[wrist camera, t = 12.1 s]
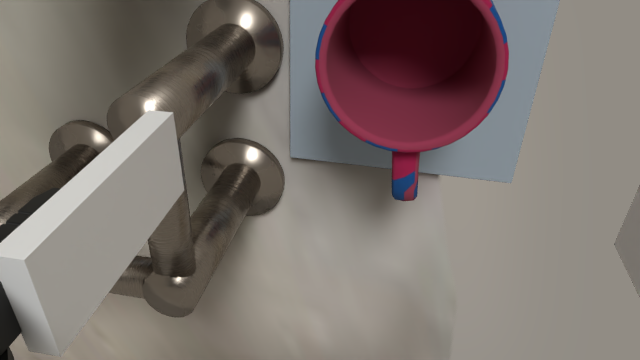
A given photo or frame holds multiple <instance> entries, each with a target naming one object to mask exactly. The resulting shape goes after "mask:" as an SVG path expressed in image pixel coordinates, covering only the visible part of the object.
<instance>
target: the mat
mask: <svg viewBox="0 0 640 360" xmlns="http://www.w3.org/2000/svg"><path fill="white" fill-rule="evenodd" d="M337 1H338V0H290V157H294V158H303V159H311V160H320V161H328V162H337V163H345V164H353V165H362V166H370V167H379V168H387V169H392V151H389V150H385V149H381V148H378V147H375V146H372V145H370V144H368V143H366V142H364V141H362V140H360V139H359V138H357V137H356V136H354V135H353V134H351V133H349V132H348V131H347V130H346V129H345V128H344V127H343V126H342V125H341V124H340V123H339V122H338V121H337V120H336V119H335V117H334V116H333V115H332V113H331V112H330V111H329V109H328V107H327V105H326V104H325V102H324V100H323V98H322V95H321V92H320V89H319V86H318V83H317V77H316V71H315V52H316V47H317V42H318V37H319V34H320V31H321V29H322V26H323V24H324V21H325V19H326V18H327V16H328V15H329V13H330V11H331V10H332V8H333V7H334V5H335V4H336V2H337ZM492 1H493V3H494V5H495V8H496V10H497V12H498V14H499V16H500V18H501V21H502V24H503V27H504V29H505V32H506V35H507V42H508V49H509V64H508V72H507V77H506V81H505V85H504V88H503V90H502V92H501V95H500V97H499V99H498V101H497V103H496V104H495V106H494V107H493V109H492V110H491V112H490V113H489V115H488V116H487V117H486V118H485V119H484V120H483V121H482V122H481V123H480V124H479V125H478V126H477V127H476V128H475V129H474V130H472V131H471V132H470V133H468V134H467V135H466V136H464V137H462V138H461V139H459V140H457V141H455V142H453V143H451V144H449V145H446V146H443V147H441V148H438V149H434V150H429V151H424V152H420V159H419V171H418V172H421V173H430V174H438V175H447V176H456V177H464V178H472V179H480V180H489V181H498V182H506V183H511V182H512V179H513V175H514V171H515V167H516V163H517V159H518V156H519V152H520V148H521V145H522V141H523V137H524V133H525V129H526V125H527V122H528V118H529V114H530V110H531V106H532V103H533V99H534V96H535V92H536V88H537V84H538V81H539V77H540V72H541V69H542V65H543V61H544V58H545V54H546V50H547V46H548V43H549V39H550V35H551V32H552V27H553V24H554V20H555V16H556V13H557V9H558V5H559V1H560V0H492Z"/></svg>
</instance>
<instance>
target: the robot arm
mask: <svg viewBox="0 0 640 360" xmlns="http://www.w3.org/2000/svg"><path fill="white" fill-rule="evenodd" d="M183 191H184V184H183V177H182V170H181V163H180V156H179V149H178V142H177V135H176V128H175V121H174V115H173V112H164V111H154V110H148V111H147V112H146V113H145V114H144V115H143V116H142V117H140V118H139V119H138V120H137V121H136V122H135V123H134V124H133V125H132V126H130V127H129V128H128V129H127V130H126V131H125V132H124V133H123V134H121V135H120V136H119V137H118V138H117V139H116V140H115V141H114V142H113V143H111V144H110V145H109V146H108V147H107V148H106V149H105V150H104V151H102V152H101V153H100V154H99V155H98V156H97V157H96V158H95V159H94V160H92V161H91V162H90V163H89V164H88V165H87V166H86V167H85V168H83V169H82V170H81V171H80V172H79V173H78V174H77V175H76V176H75V177H73V178H72V179H71V180H70V181H69V182H68V183H67V184H66V185H64V186H63V187H62V188H52V189H50V190H48V191H46V192H44V193H42V194H40V195H38V196H36V197H34V198H32V199H31V200H30V201H29V202H28V203H27V204H25V205H24V206H23V207H22V208H21V209H20V210H18V213H15V214H14V215H12V216H11V217H10V218H9V219H8V220H7V221H6V224H2V225H1V226H0V360H14V357H13V354H12V352H11V350H10V348H9V346H10V345H11V344H12V342H13V341H14V340H15V339H16V338H17V337H18V335H19V334H20V333H21V334H22V336H23V338H24V341H25V343H26V345H27V348H28V350H29V351H32V352H37V353H43V354H48V355H54V356H59V357H61V356H62V355H63V353H64V352H65V351H66V349H67V348H68V347H69V345H70V344H71V343H72V341H73V340H74V339H75V337H76V336H77V335H78V333H79V332H80V331H81V329H82V328H83V326H84V325H85V324H86V322H87V321H88V320H89V318H90V317H91V316H92V314H93V313H94V312H95V310H96V309H97V308H98V306H99V305H100V303H101V302H102V301H103V299H104V298H105V297H106V295H107V294H108V293H109V291H110V290H111V289H112V287H113V286H114V285H115V283H116V282H117V280H118V279H119V278H120V276H121V275H122V274H123V272H124V271H125V270H126V268H127V267H128V266H129V264H130V263H131V262H132V260H133V259H134V257H135V256H136V255H137V253H138V252H139V251H140V249H141V248H142V247H143V245H144V244H145V243H146V241H147V240H148V239H149V237H150V236H151V235H152V233H153V232H154V230H155V229H156V228H157V226H158V225H159V224H160V222H161V221H162V220H163V218H164V217H165V216H166V214H167V213H168V212H169V210H170V209H171V207H172V206H173V205H174V203H175V202H176V201H177V199H178V198H179V197H180V195H181V194H182V193H183ZM614 245H615V247H616V249H617V251H618V253H619V256H620V258H621V260H622V262H623V264H624V266H625V268H626V270H627V272H628V274H629V276H630V278H631V280H632V283H633V285H634V287H635V289H636V291H637V293H638V295H639V297H640V186H639V188H638V190H637V193H636V195H635V197H634V199H633V202H632V204H631V206H630V209H629V211H628V213H627V216H626V218H625V220H624V223H623V225H622V227H621V229H620V232H619V234H618V236H617V238H616V241H615V243H614Z"/></svg>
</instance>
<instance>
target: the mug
mask: <svg viewBox="0 0 640 360" xmlns="http://www.w3.org/2000/svg"><path fill="white" fill-rule="evenodd" d="M508 64H509V49H508V42H507V35H506V32H505V29H504V27H503V24H502V21H501V18H500V16H499V14H498V12H497V10H496V8H495V5H494V3H493V1H492V0H338V1H337V2H336V4H335V5H334V7H333V8H332V10H331V11H330V13H329V15H328V16H327V18H326V19H325V21H324V24H323V26H322V29H321V31H320V34H319V37H318V42H317V47H316V52H315V71H316V77H317V83H318V86H319V89H320V92H321V95H322V98H323V100H324V102H325V104H326V105H327V107H328V109H329V111H330V112H331V113H332V115H333V116H334V117H335V119H336V120H337V121H338V122H339V123H340V124H341V125H342V126H343V127H344V128H345V129H346V130H347V131H348V132H349V133H351V134H353V135H354V136H356V137H357V138H359V139H360V140H362V141H364V142H366V143H368V144H370V145H372V146H375V147H378V148H381V149H385V150H389V151H392V195H393V197H394V199H396V200H401V201H412V200H414V199H415V198H416V197H417V187H418V171H419V159H420V152H424V151H429V150H434V149H438V148H441V147H443V146H446V145H449V144H451V143H453V142H455V141H457V140H459V139H461V138H462V137H464V136H466V135H467V134H468V133H470V132H471V131H472V130H474V129H475V128H476V127H477V126H478V125H479V124H480V123H481V122H482V121H483V120H484V119H485V118H486V117H487V116H488V115H489V113H490V112H491V110H492V109H493V107H494V106H495V104H496V103H497V101H498V99H499V97H500V95H501V92H502V90H503V88H504V85H505V81H506V77H507V72H508Z"/></svg>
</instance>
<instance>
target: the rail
mask: <svg viewBox="0 0 640 360" xmlns="http://www.w3.org/2000/svg"><path fill="white" fill-rule="evenodd" d="M186 40H187V48H188V49H187V50H185V51H184V52H183V53H181V54H180V55H178V56H177V57H176V58H174V59H173V60H171V61H170V62H169V63H167V64H166V65H164V66H163V67H162V68H160V69H159V70H157V71H156V72H155V73H153V74H152V75H150V76H149V77H148V78H146V79H145V80H143V81H142V82H141V83H139V84H138V85H136V86H135V87H134V88H132V89H131V90H129V91H128V92H127V93H125V94H124V95H122V96H121V97H120V98H118V99H117V100H115V101H114V102H113V103H112V104H111V106H110V108H109V110H108V113H107V125H108V128H109V131H110V132H109V131H108V130H106V129H105V128H103V127H102V126H100V125H98V124H95V123H93V122H89V121H84V120H76V121H71V122H68V123H66V124H64V125H63V126H62V127H60V128H59V129H57V130H56V131H55V132H54V133H53V135H52V136H51V139H50V142H49V153H50V157H51V160H52V162H51V163H50V164H49V165H47V166H46V167H45V168H43V169H42V170H41V171H39V172H38V173H37V174H35V175H34V176H33V177H31V178H30V179H29V180H27V181H26V182H25V183H23V184H22V185H21V186H19V187H18V188H17V189H16V190H14V191H13V192H12V193H10V194H9V195H8V196H6V197H5V198H4V199H2V200H1V201H0V226H1V225H2V224H6V221H7V220H8V219H9V218H10V217H11V216H12V215H14V214H15V213H18V210H20V209H21V208H22V207H23V206H24V205H25V204H27V203H28V202H29V201H30V200H31V199H32V198H34V197H36V196H38V195H40V194H42V193H44V192H46V191H48V190H50V189H52V188H62V187H63V186H64V185H66V184H67V183H68V182H69V181H70V180H71V179H72V178H73V177H75V176H76V175H77V174H78V173H79V172H80V171H81V170H82V169H83V168H85V167H86V166H87V165H88V164H89V163H90V162H91V161H92V160H94V159H95V158H96V157H97V156H98V155H99V154H100V153H101V152H102V151H104V150H105V149H106V148H107V147H108V146H109V145H110V144H111V143H113V142H114V141H115V140H116V139H117V138H118V137H119V136H120V135H121V134H123V133H124V132H125V131H126V130H127V129H128V128H129V127H130V126H132V125H133V124H134V123H135V122H136V121H137V120H138V119H139V118H140V117H142V116H143V115H144V114H145V113H146V112H147V111H148V110H154V111H164V112H173V115H174V121H175V128H176V135H177V142H178V149H179V156H180V163H181V170H182V177H183V184H184V191H183V193H182V194H181V195H180V197H179V198H178V199H177V201H176V202H175V203H174V205H173V206H172V207H171V209H170V210H169V212H168V213H167V214H166V216H165V217H164V218H163V220H162V221H161V222H160V224H159V225H158V226H157V228H156V229H155V230H154V232H153V233H152V235H151V236H150V237H149V239H148V244H149V250H150V255H151V258H149V257H142V256H135V257H134V259H133V260H132V262H131V263H130V264H129V266H128V267H127V268H126V270H125V271H124V272H123V274H122V275H121V276H120V278H119V279H118V280H117V282H116V283H115V285H114V286H113V287H112V289H111V290H110V291H109V293H114V294H120V295H126V296H132V297H138V298H144V299H146V301H147V302H148V304H149V305H150V306H151V307H152V308H154V309H155V310H156V311H158V312H160V313H162V314H164V315H167V316H171V317H184V316H187V315H189V314H190V313H192V311H193V310H194V308H195V306H196V305H197V303H198V301H199V299H200V297H201V295H202V294H203V292H204V290H205V288H206V286H207V284H208V283H209V281H210V279H211V277H212V275H213V274H214V272H215V270H216V268H217V266H218V264H219V263H220V261H221V259H222V257H223V255H224V253H225V252H226V250H227V248H228V246H229V244H230V243H231V241H232V239H233V237H234V235H235V233H236V232H237V230H238V228H239V226H240V224H241V222H242V221H243V219H244V217H245V215H247V216H253V215H259V214H263V213H265V212H267V211H269V210H270V209H272V208H273V207H274V206H275V205H276V204H277V202H278V200H279V199H280V197H281V194H282V192H283V189H284V184H285V178H284V173H283V169H282V167H281V165H280V163H279V161H278V160H277V158H276V157H275V156H274V155H273V154H272V153H271V152H270V151H269V150H268V149H267V148H265V147H264V146H262V145H260V144H259V143H256V142H254V141H251V140H247V139H241V138H234V139H228V140H224V141H222V142H220V143H218V144H217V145H215V146H214V147H213V148H212V149H211V150H210V151H209V153H208V154H207V155H206V157H205V158H204V161H203V163H202V167H201V177H202V182H203V185H204V187H205V189H206V191H207V194H206V196H205V197H204V199H203V200H202V202H201V203H200V204H199V206H198V207H197V209H196V210H195V211H194V213H193V214H192V216H191V217H190V212H189V205H188V197H187V189H186V181H185V174H184V166H183V158H182V151H181V143H180V137H181V136H182V135H183V134H184V133H185V132H186V131H187V130H188V129H189V128H190V127H191V126H192V125H193V123H194V122H195V121H196V120H197V119H198V118H199V117H200V116H201V115H202V114H203V113H204V112H205V111H206V110H207V109H208V108H209V107H210V106H211V105H212V104H213V103H214V102H215V101H216V99H217V98H218V97H219V96H220V95H221V94H222V93H223V92H224V91H227V92H230V93H239V94H243V93H250V92H253V91H256V90H258V89H260V88H262V87H263V86H265V85H266V84H267V83H268V82H269V81H270V80H271V79H272V78H273V76H274V75H275V74H276V72H277V71H278V69H279V67H280V64H281V61H282V57H283V39H282V35H281V32H280V29H279V27H278V24H277V22H276V21H275V19H274V18H273V16H272V15H271V14H270V12H269V11H268V10H267V9H266V8H265V7H264V6H262V5H261V4H260V3H258V2H257V1H255V0H208V1H206V2H204V3H203V4H202V5H200V6H199V7H198V8H197V9H196V11H195V12H194V13H193V15H192V17H191V19H190V21H189V24H188V28H187V35H186Z"/></svg>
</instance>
